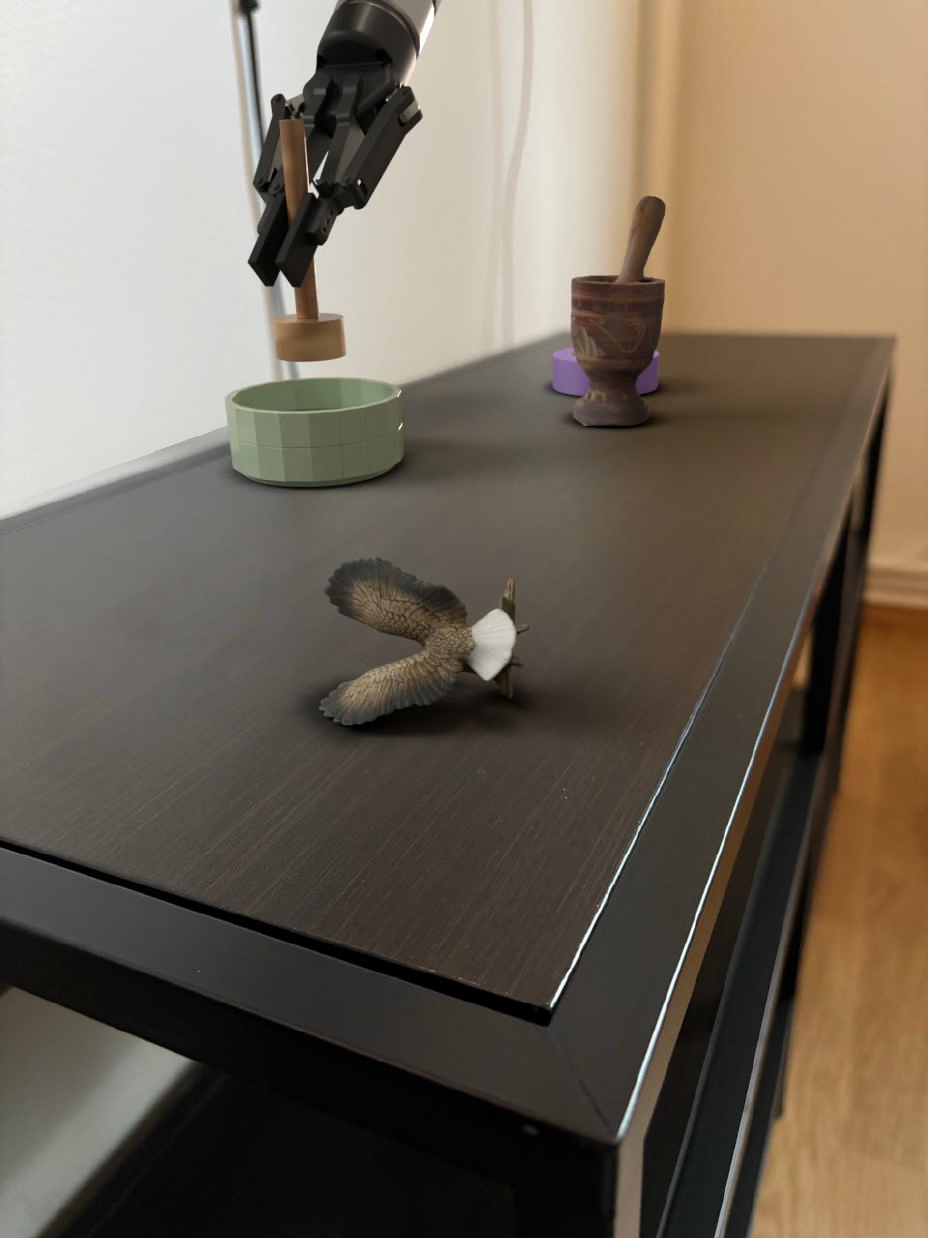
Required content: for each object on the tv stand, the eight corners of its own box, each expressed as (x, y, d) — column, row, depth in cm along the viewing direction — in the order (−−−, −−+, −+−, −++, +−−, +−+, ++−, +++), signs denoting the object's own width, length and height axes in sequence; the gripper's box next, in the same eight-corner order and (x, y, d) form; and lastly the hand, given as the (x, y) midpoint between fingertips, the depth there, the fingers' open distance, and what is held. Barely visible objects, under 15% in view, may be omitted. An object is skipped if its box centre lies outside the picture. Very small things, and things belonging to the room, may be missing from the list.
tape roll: (533, 391, 109) (533, 356, 108) (582, 374, 118) (583, 341, 116) (630, 402, 103) (632, 365, 102) (674, 383, 112) (676, 348, 110)
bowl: (211, 489, 77) (201, 413, 75) (257, 443, 90) (250, 377, 88) (391, 489, 76) (387, 412, 74) (412, 443, 89) (409, 376, 87)
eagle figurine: (495, 624, 51) (319, 606, 49) (533, 539, 45) (335, 516, 43) (503, 760, 46) (310, 746, 45) (545, 687, 41) (326, 668, 39)
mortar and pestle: (578, 401, 104) (584, 195, 96) (661, 404, 102) (675, 194, 94) (561, 427, 94) (566, 199, 86) (653, 431, 92) (668, 197, 84)
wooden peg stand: (268, 362, 77) (244, 119, 70) (285, 350, 82) (263, 122, 75) (339, 361, 77) (321, 116, 70) (351, 349, 82) (336, 120, 75)
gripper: (471, 73, 81) (380, 311, 74) (318, 83, 87) (221, 304, 80) (439, -12, 74) (336, 240, 67) (277, 5, 80) (167, 238, 73)
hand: (274, 274), depth 74 cm, fingers closed on wooden peg stand, 2 cm apart
